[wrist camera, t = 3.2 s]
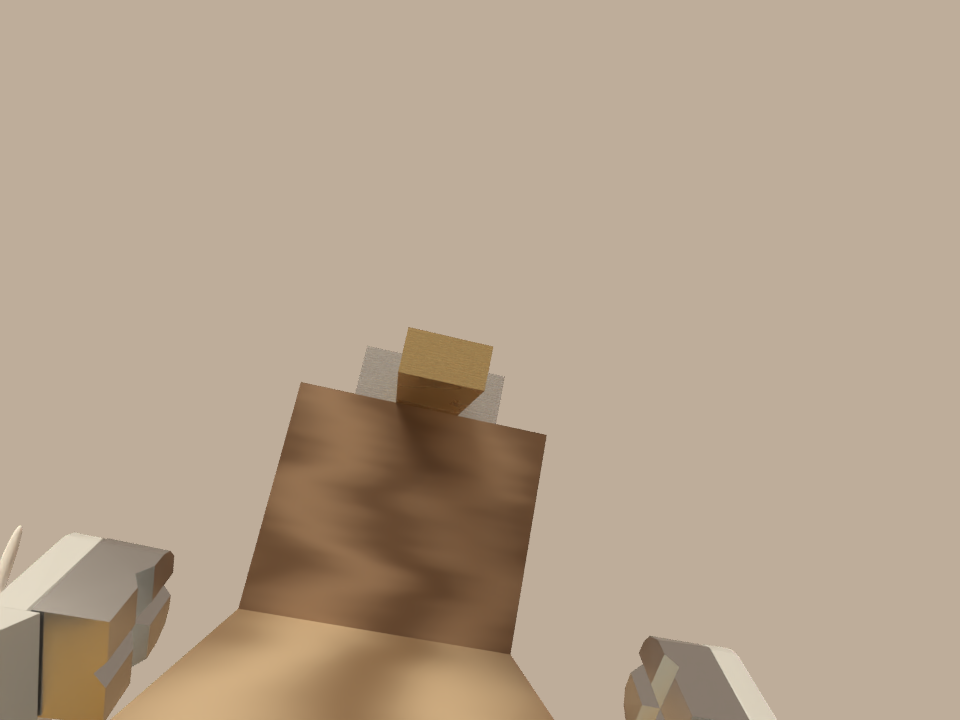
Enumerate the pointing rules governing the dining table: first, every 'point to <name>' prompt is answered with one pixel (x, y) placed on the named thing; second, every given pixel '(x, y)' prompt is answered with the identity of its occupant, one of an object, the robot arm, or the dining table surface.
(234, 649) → the stepped stand
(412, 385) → the lever cap
